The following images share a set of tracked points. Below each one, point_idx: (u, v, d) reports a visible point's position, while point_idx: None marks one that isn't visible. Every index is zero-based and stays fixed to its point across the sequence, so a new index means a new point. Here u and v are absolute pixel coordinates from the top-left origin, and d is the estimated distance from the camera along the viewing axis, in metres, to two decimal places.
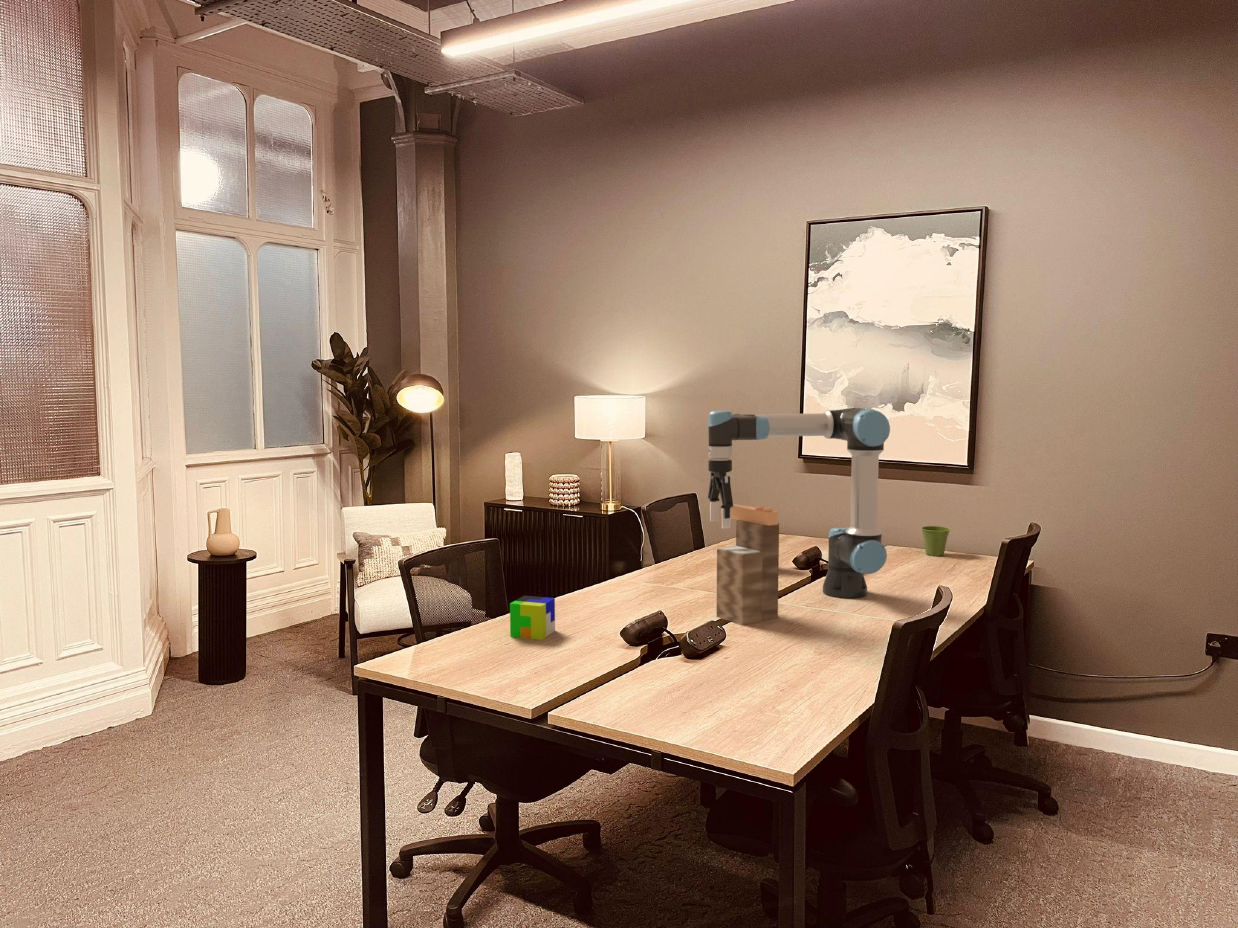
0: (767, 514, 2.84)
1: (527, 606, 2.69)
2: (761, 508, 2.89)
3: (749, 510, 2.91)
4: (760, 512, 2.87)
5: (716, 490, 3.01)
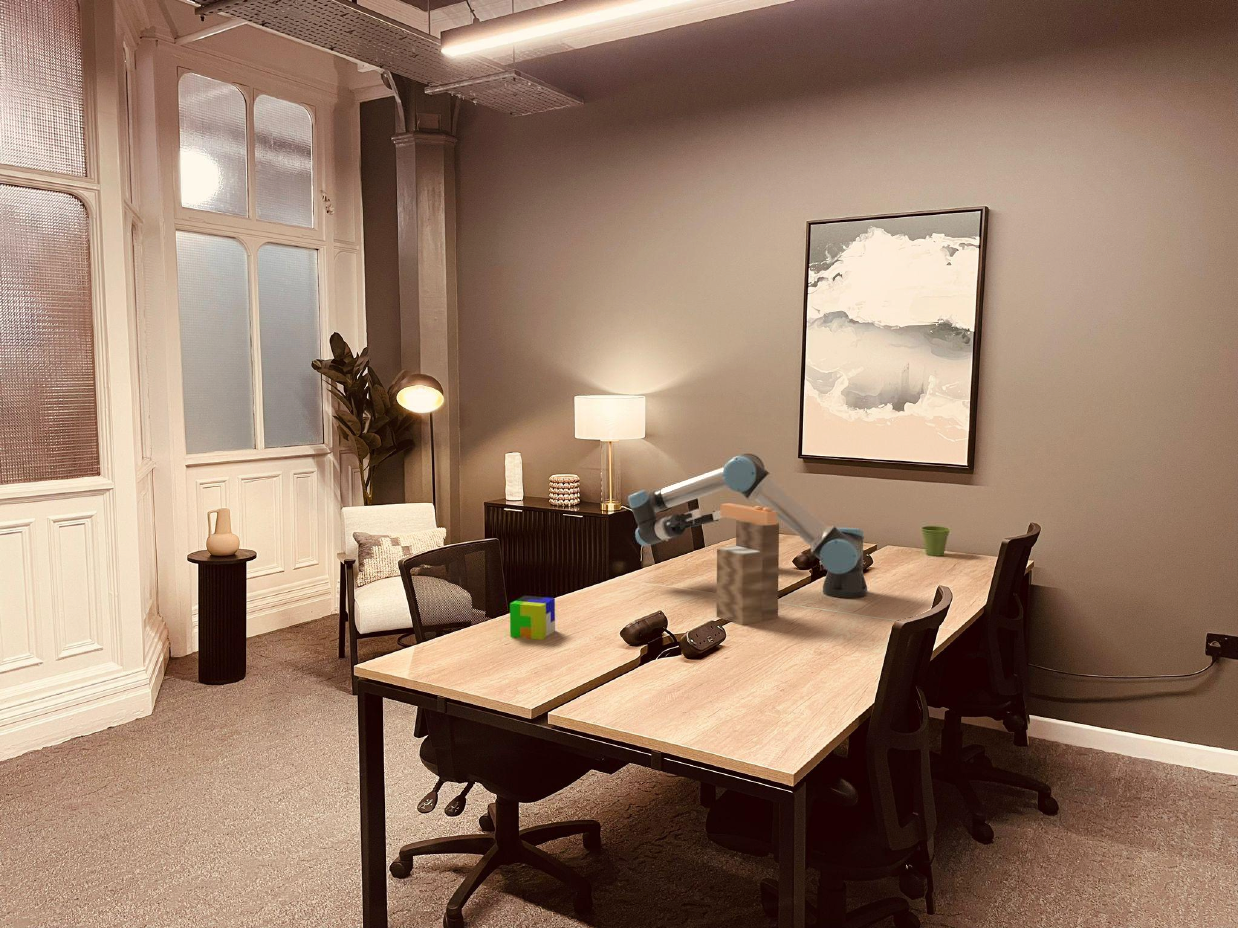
0: (766, 514, 2.85)
1: (527, 606, 2.69)
2: (760, 508, 2.89)
3: (748, 510, 2.91)
4: (759, 512, 2.87)
5: (699, 519, 3.20)
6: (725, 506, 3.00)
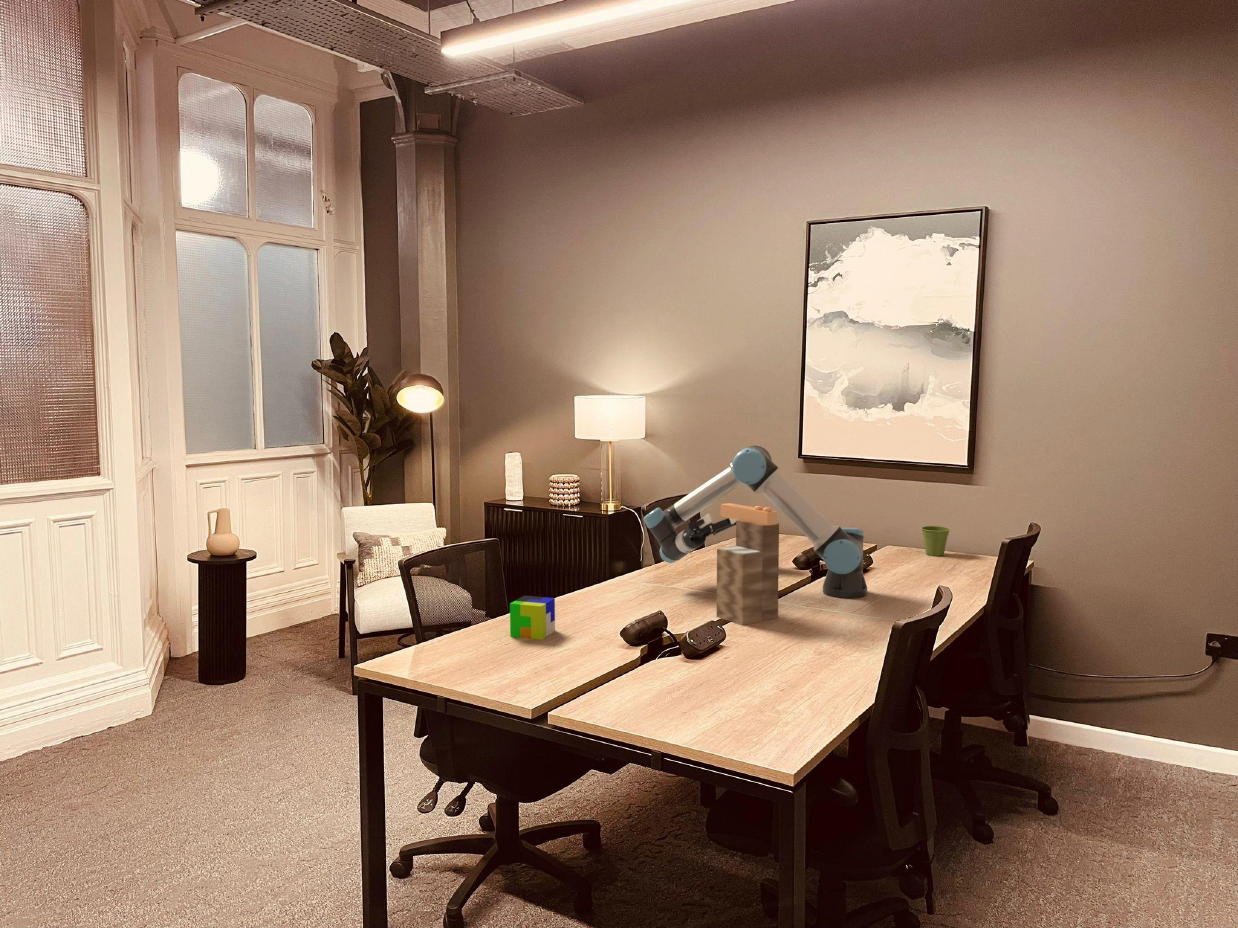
0: (766, 514, 2.85)
1: (527, 606, 2.69)
2: (760, 508, 2.89)
3: (748, 510, 2.91)
4: (759, 512, 2.87)
5: (717, 526, 3.13)
6: (725, 506, 3.00)
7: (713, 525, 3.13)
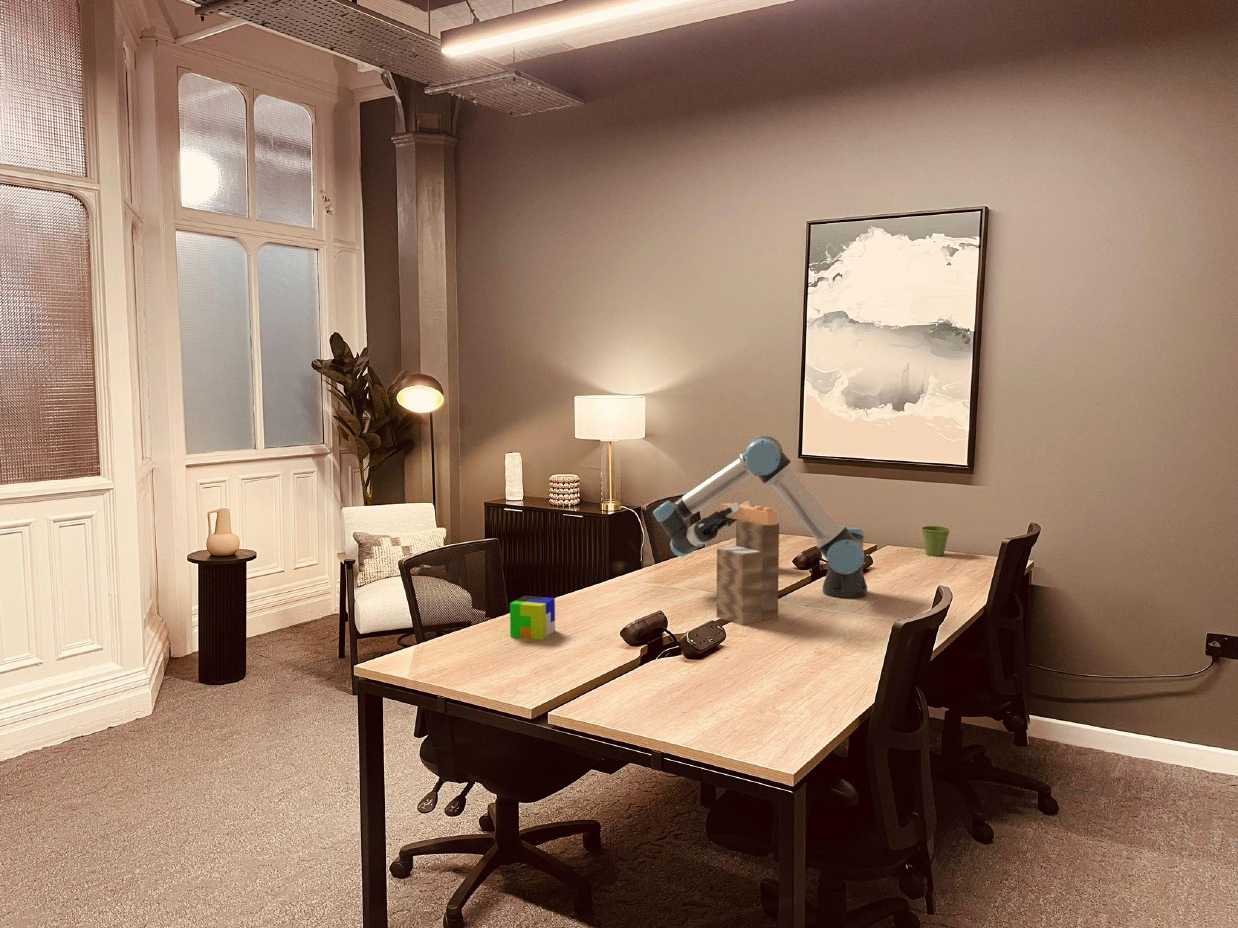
0: (766, 514, 2.85)
1: (527, 606, 2.69)
2: (760, 508, 2.89)
3: (748, 510, 2.91)
4: (759, 512, 2.87)
5: None
6: (725, 506, 3.00)
7: None
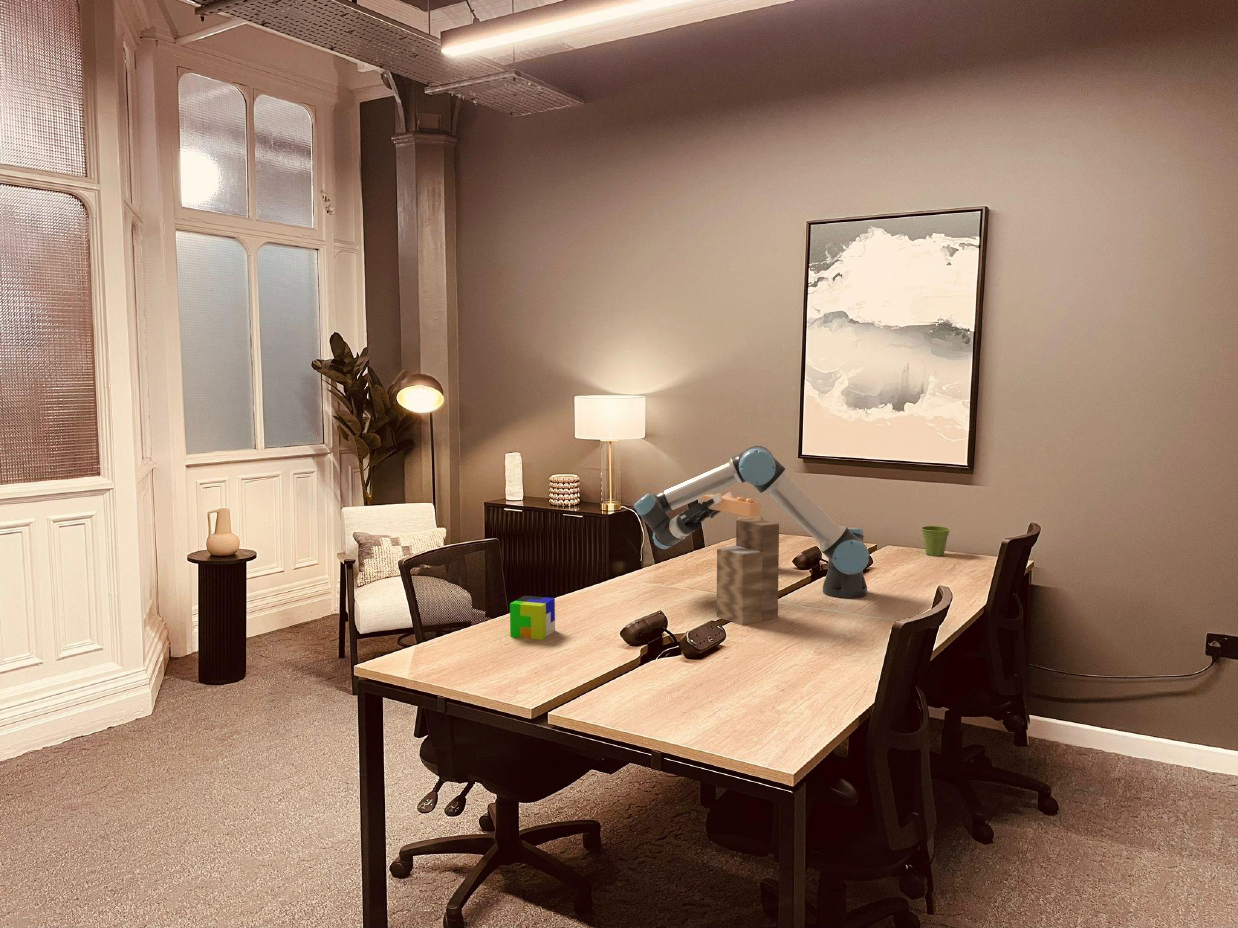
0: (748, 505, 2.80)
1: (527, 606, 2.69)
2: (743, 499, 2.85)
3: (730, 501, 2.87)
4: (741, 503, 2.83)
5: (708, 510, 3.01)
6: (707, 497, 2.96)
7: None
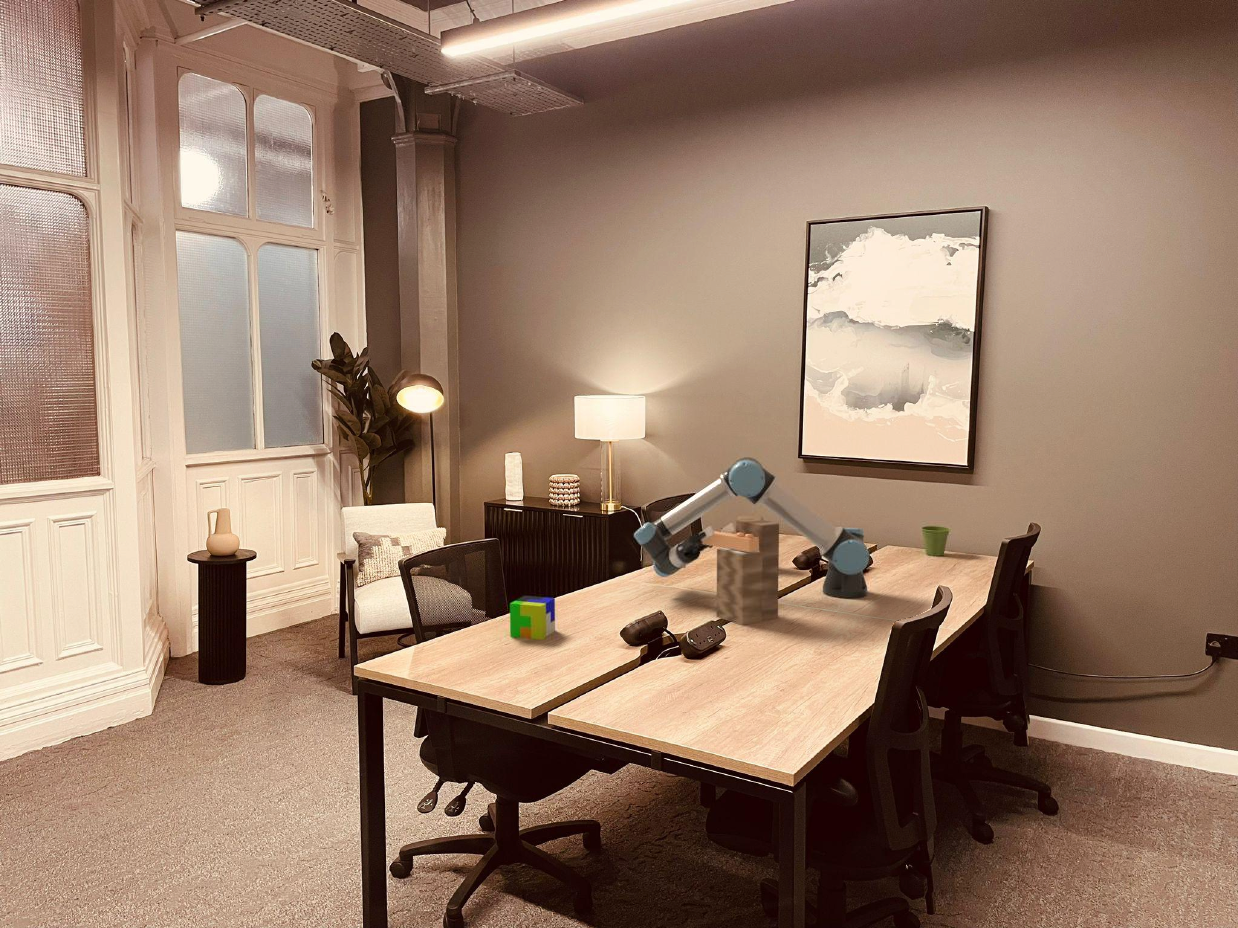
0: (748, 540, 2.81)
1: (527, 606, 2.69)
2: (742, 535, 2.86)
3: (730, 537, 2.88)
4: (741, 539, 2.84)
5: None
6: None
7: None
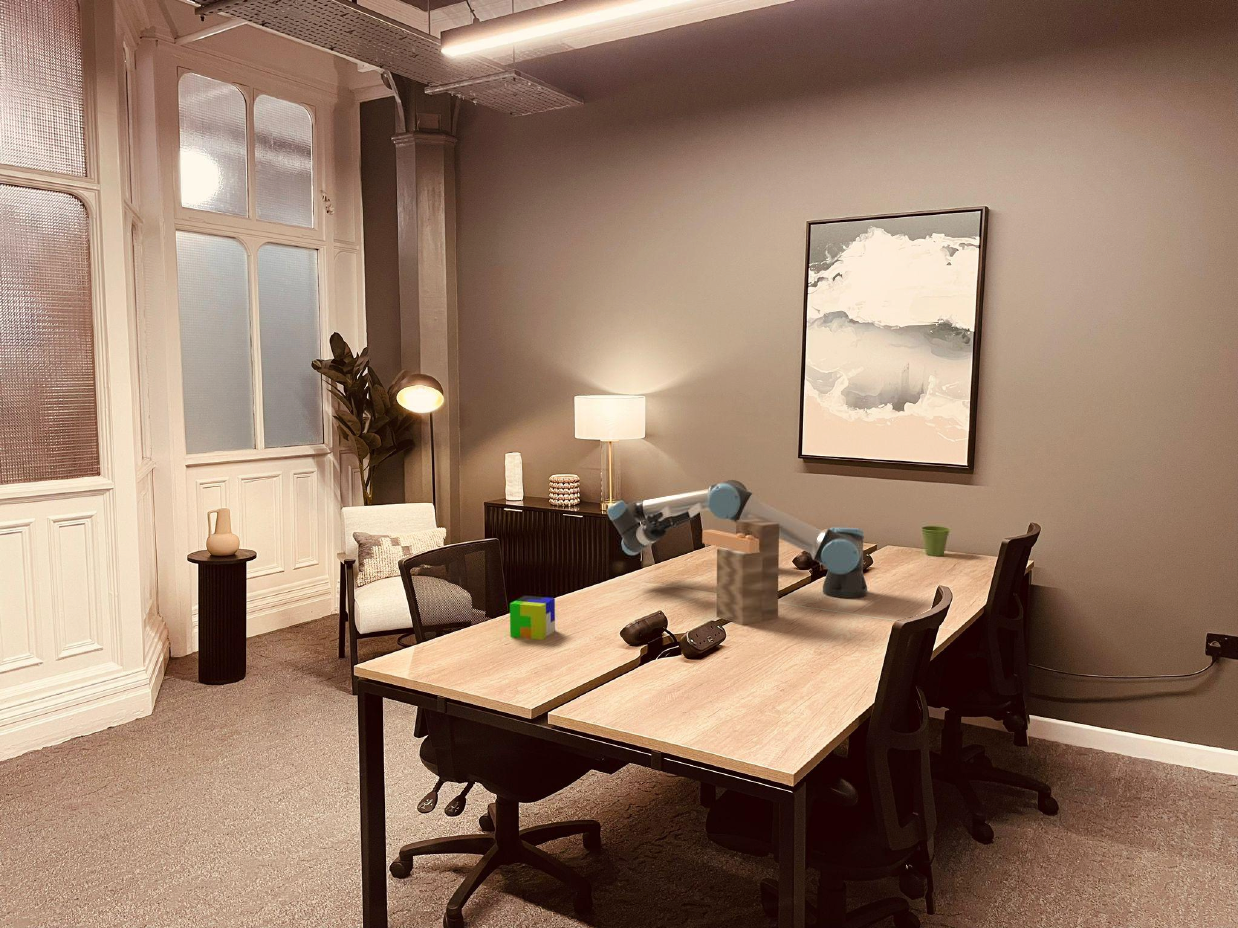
0: (748, 542, 2.81)
1: (527, 606, 2.69)
2: (742, 536, 2.86)
3: (730, 537, 2.88)
4: (741, 540, 2.84)
5: (677, 519, 3.19)
6: (707, 533, 2.97)
7: (673, 518, 3.20)
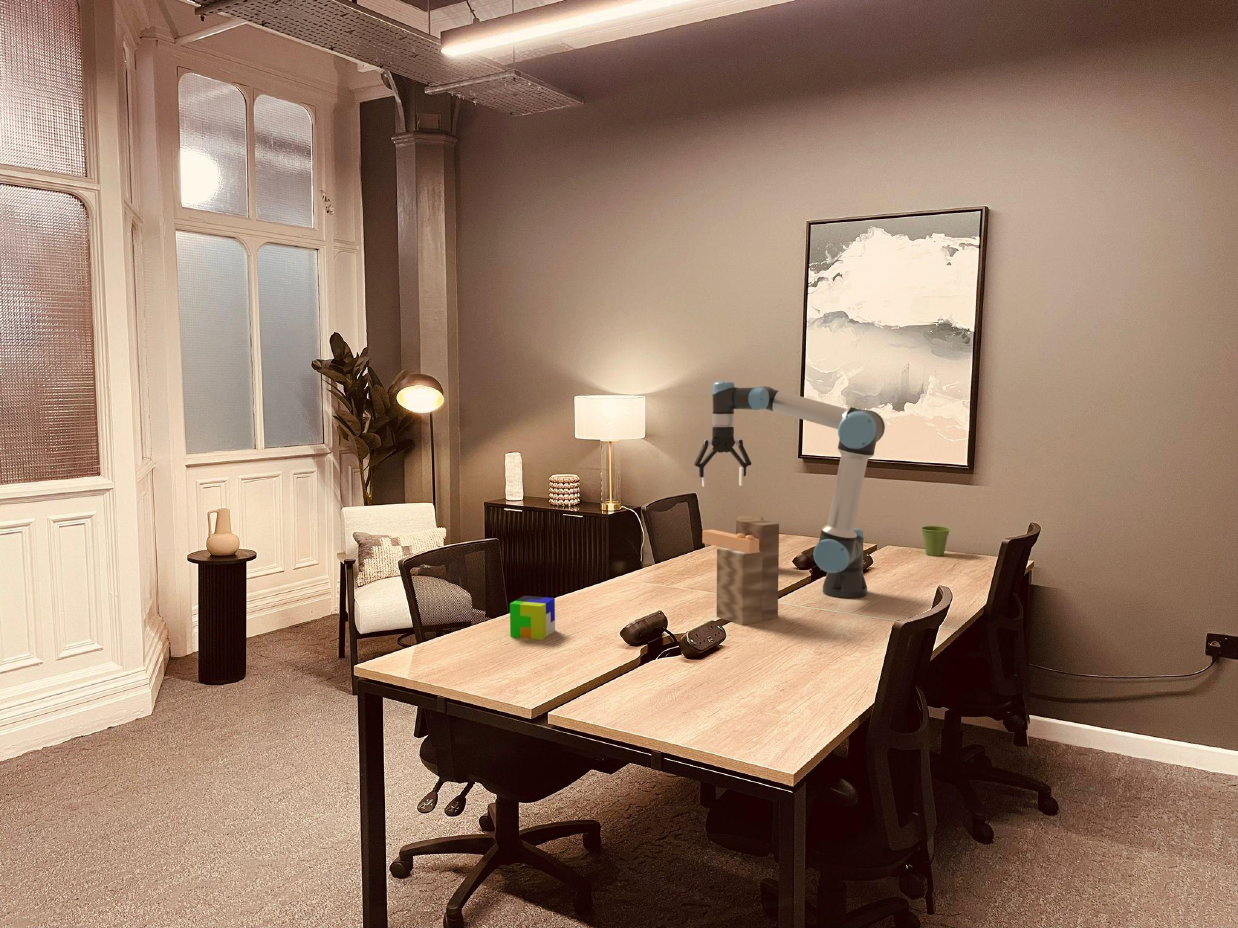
0: (748, 542, 2.81)
1: (527, 606, 2.69)
2: (742, 536, 2.86)
3: (730, 537, 2.88)
4: (741, 540, 2.84)
5: (733, 455, 3.26)
6: (707, 533, 2.97)
7: (732, 453, 3.25)
